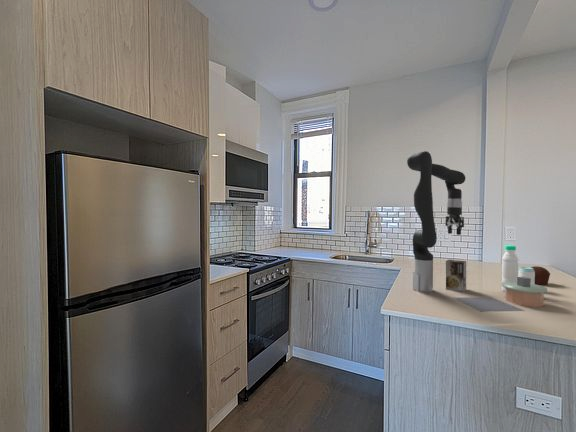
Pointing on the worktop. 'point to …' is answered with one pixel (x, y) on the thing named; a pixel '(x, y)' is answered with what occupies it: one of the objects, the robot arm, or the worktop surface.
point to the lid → (524, 286)
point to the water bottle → (509, 265)
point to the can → (527, 273)
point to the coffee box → (456, 275)
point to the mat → (487, 304)
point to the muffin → (541, 275)
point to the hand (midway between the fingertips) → (454, 234)
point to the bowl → (524, 298)
